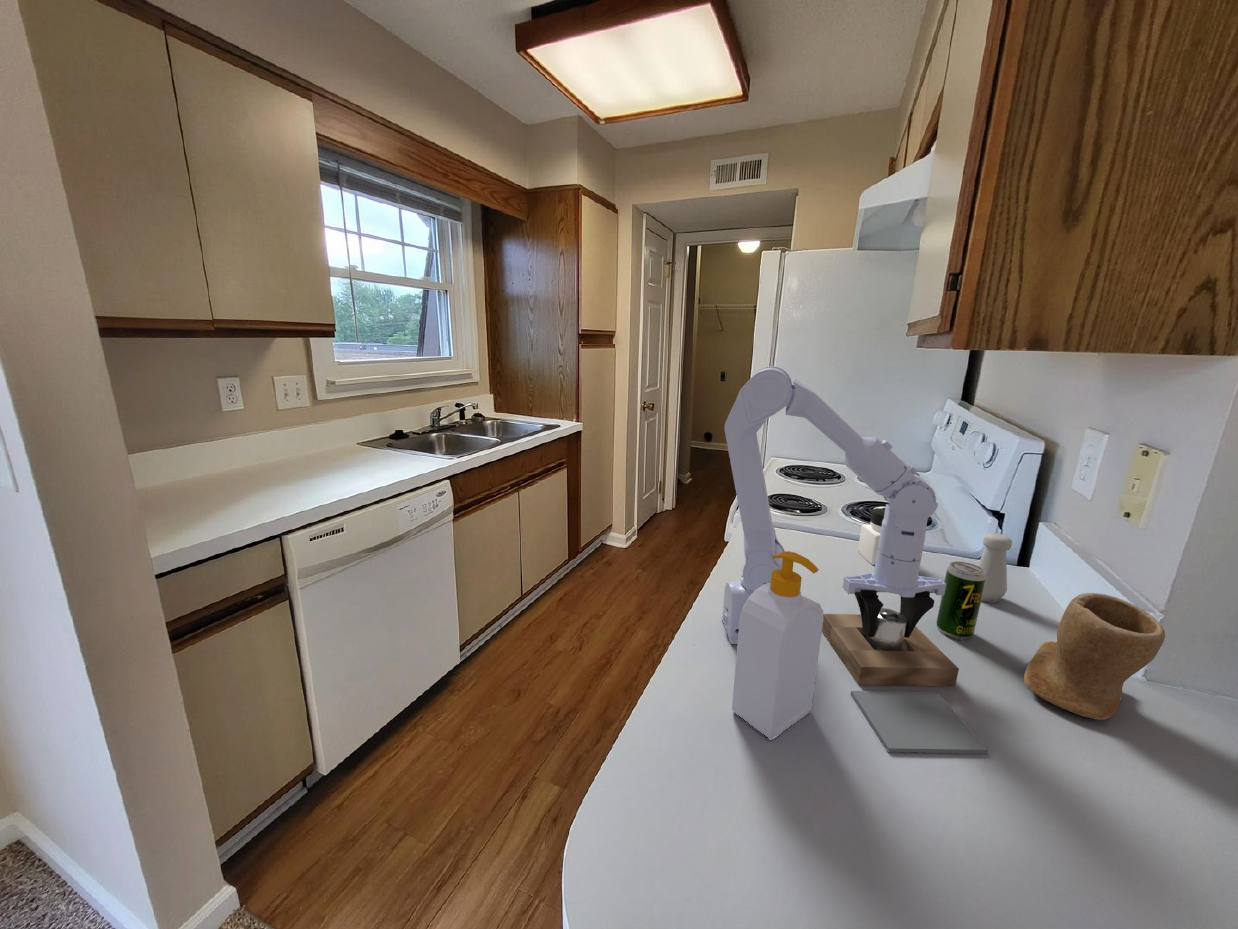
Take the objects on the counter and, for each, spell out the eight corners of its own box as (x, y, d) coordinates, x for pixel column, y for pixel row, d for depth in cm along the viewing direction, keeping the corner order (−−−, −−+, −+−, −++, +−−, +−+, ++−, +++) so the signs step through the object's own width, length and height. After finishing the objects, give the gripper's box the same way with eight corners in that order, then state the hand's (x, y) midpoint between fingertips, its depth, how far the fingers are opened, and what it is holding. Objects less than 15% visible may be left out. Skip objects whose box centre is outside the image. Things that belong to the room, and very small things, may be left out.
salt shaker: (992, 591, 99) (1005, 530, 96) (1011, 606, 93) (1026, 542, 90) (961, 589, 99) (973, 529, 96) (978, 604, 94) (992, 540, 91)
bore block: (858, 685, 71) (861, 667, 70) (820, 629, 85) (822, 613, 84) (955, 686, 71) (959, 668, 70) (901, 630, 85) (904, 615, 84)
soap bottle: (775, 747, 60) (794, 575, 54) (730, 713, 65) (744, 553, 60) (816, 715, 65) (838, 555, 60) (772, 686, 71) (788, 537, 65)
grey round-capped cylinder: (873, 665, 75) (881, 622, 74) (858, 645, 80) (865, 604, 78) (906, 666, 75) (914, 622, 74) (889, 646, 80) (896, 605, 78)
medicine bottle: (904, 566, 109) (912, 515, 106) (871, 565, 109) (879, 514, 106) (887, 552, 116) (895, 504, 113) (857, 552, 116) (864, 503, 113)
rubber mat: (887, 752, 59) (888, 748, 59) (850, 694, 69) (851, 690, 69) (987, 754, 59) (988, 750, 59) (935, 695, 69) (936, 692, 69)
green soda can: (928, 625, 86) (940, 562, 83) (951, 621, 88) (964, 559, 85) (956, 643, 81) (970, 577, 78) (980, 638, 83) (995, 573, 80)
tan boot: (1129, 746, 61) (1164, 640, 57) (1011, 693, 70) (1035, 598, 66) (1146, 694, 70) (1177, 599, 66) (1040, 653, 79) (1062, 567, 75)
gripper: (863, 564, 70) (850, 648, 73) (965, 566, 70) (948, 650, 73) (841, 544, 76) (831, 622, 80) (935, 545, 76) (920, 623, 80)
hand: (885, 633), depth 77 cm, fingers closed on grey round-capped cylinder, 5 cm apart
